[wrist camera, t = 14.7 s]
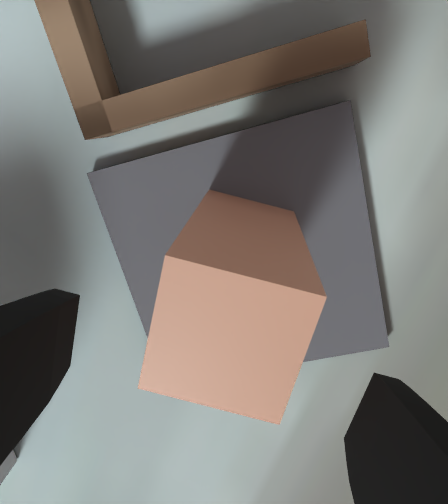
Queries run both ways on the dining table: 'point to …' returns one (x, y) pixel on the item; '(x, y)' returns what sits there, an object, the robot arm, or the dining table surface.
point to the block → (234, 309)
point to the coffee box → (7, 465)
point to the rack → (184, 87)
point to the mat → (267, 192)
